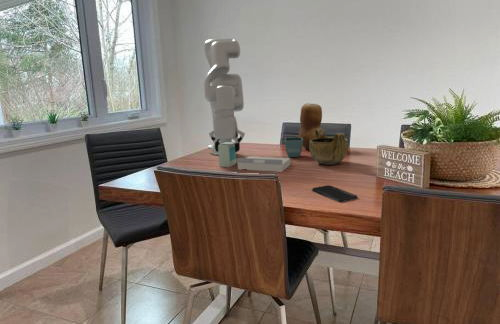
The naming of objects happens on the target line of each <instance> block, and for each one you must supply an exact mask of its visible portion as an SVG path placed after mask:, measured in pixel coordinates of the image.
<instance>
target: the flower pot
mask: <svg viewBox="0 0 500 324" xmlns="http://www.w3.org/2000/svg"><path fill="white" fill-rule="evenodd" d="M284 146H285V152H286V155H287V158H299V157H300V156H301V154H302V150H303V139H302V138H299V137H284Z"/></svg>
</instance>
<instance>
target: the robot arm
mask: <svg viewBox="0 0 500 324" xmlns="http://www.w3.org/2000/svg"><path fill="white" fill-rule="evenodd" d="M240 46H241V45H240V43H239V41H238V40H237V39H236V38H212V39H207V40H206V41H204V44H203V47H204V53H205V54H204V55H205V58H206V60H207V62H208V64H209V69H210V70H209V71H208V72H207V73H206V75H205V78H204V81H203V89H204V90H203V91H204V98H205V100H206V102H208V103H210V109H211V116H212V128H213V129H212V131H210V132H209V133H208V135H209V137H210V139H211V141H213V144H212V145H211V144H210V145H208V146H207V148H208V150H212V151H211V154H212V155H214V156H219V150H218V145H220V144H222V143H225V142H232V141H233V142H235V152H236V153H238V152H240V147H241V146H240V145H241V144H240V143H241V142H242V140H243V139H244V137H245V132H243V131H242V130H240V129H238V123H237V122H238V121H237V118H236V116H235V112H242V111H243V109H244V107H245V106H244V104H245V103H244V94H243V90H244V89H243V82H242V77H241V76H240V74H238V73H229V72H230V69H231V68H230V67H231V66H230V59H238V58H240V56H241V47H240ZM239 135H240V137H239Z"/></svg>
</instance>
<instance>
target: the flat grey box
mask: <svg viewBox="0 0 500 324" xmlns="http://www.w3.org/2000/svg"><path fill="white" fill-rule="evenodd" d="M289 166H291V157H272V156H253V155H252V156H250V155H249V156H247V157H237V170H242V169H247V171H259V172H260V171H261V172H262V171H263V172H275V173H276V172H277V173H278V172H279V173H282V172H283V171H285V170H286V169H287V168H289Z"/></svg>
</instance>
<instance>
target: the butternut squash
mask: <svg viewBox="0 0 500 324" xmlns="http://www.w3.org/2000/svg"><path fill="white" fill-rule="evenodd" d="M322 109H323V108H322V107H321V105H319V104H318V103H308V102H307V103H305V104H303V105H302V106H301V108H300V116H299V122H300V123H299V124H300V128H299V133H298V136H297V138H302V139H303V145H302V147H304V149H306V150H308V151H310V150H309V143H310V140H311V139H314V138H316V134H315V130H316V129H322V127H321V125H322V124H321V123H322V120H323V119H322V118H323V111H322Z"/></svg>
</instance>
